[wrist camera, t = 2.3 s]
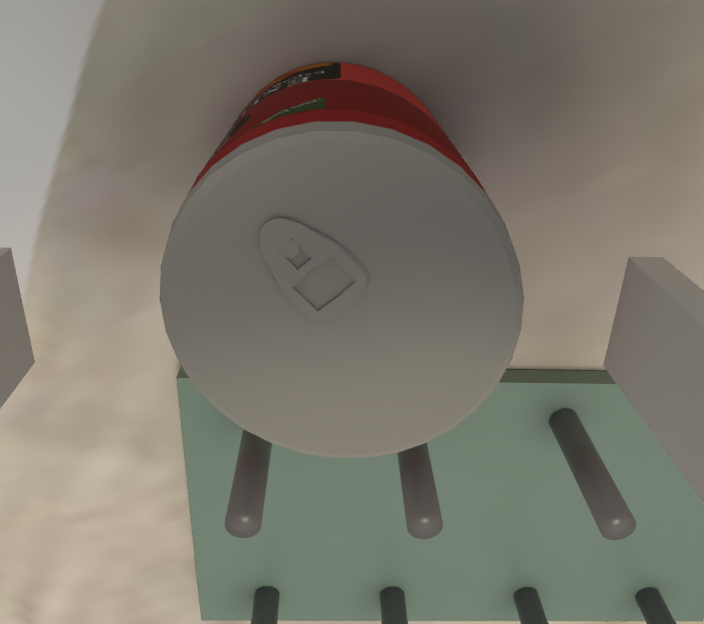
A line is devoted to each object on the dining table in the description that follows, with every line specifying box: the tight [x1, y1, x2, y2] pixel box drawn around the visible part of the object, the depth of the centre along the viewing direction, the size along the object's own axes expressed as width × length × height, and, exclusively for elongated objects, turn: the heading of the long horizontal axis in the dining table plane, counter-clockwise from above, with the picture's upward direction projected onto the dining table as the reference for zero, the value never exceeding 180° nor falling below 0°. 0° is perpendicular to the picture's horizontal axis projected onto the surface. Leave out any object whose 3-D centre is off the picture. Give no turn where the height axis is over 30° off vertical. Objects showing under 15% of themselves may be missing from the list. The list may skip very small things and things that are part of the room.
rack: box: [177, 366, 704, 624], centre depth 28 cm, size 25×14×7 cm, turn 88°
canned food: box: [160, 63, 524, 458], centre depth 19 cm, size 8×8×11 cm
